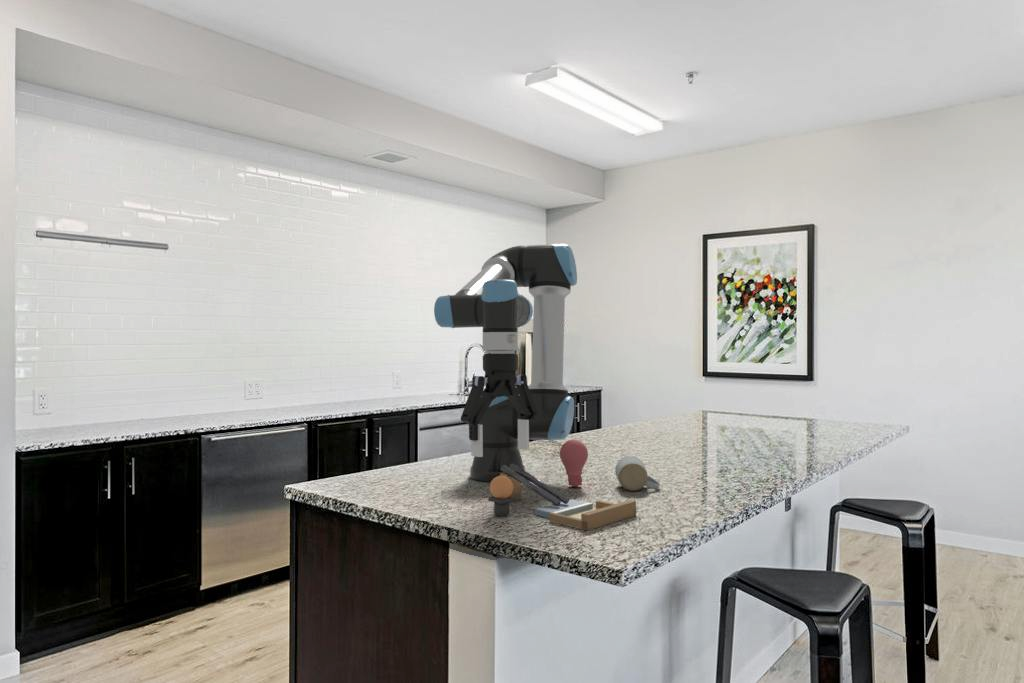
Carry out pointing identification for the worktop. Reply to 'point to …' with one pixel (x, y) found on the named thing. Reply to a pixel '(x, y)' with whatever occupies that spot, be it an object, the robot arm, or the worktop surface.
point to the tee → (501, 505)
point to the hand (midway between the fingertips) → (500, 452)
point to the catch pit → (597, 515)
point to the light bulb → (574, 460)
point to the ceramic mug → (634, 474)
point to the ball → (501, 487)
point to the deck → (564, 508)
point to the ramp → (531, 485)
